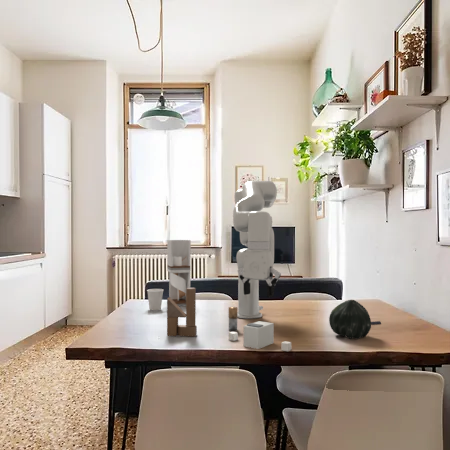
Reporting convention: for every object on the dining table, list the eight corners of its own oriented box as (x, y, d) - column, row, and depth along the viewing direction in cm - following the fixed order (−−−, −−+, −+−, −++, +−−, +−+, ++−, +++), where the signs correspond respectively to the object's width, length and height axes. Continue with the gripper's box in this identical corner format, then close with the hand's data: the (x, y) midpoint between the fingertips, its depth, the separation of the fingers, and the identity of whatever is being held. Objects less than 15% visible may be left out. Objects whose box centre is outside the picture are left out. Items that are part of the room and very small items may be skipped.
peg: (232, 328, 170) (232, 306, 170) (239, 330, 168) (239, 307, 168) (226, 330, 167) (226, 307, 167) (233, 331, 165) (233, 308, 165)
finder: (259, 340, 152) (259, 320, 152) (273, 343, 148) (273, 322, 148) (243, 346, 144) (243, 324, 144) (258, 349, 140) (258, 327, 140)
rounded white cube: (232, 338, 154) (232, 331, 154) (237, 339, 153) (237, 332, 153) (228, 339, 152) (228, 332, 152) (233, 340, 151) (233, 333, 151)
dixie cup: (162, 311, 208) (162, 291, 208) (145, 311, 208) (145, 290, 208) (164, 308, 216) (164, 288, 217) (148, 308, 217) (148, 288, 217)
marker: (285, 348, 141) (285, 341, 141) (291, 349, 139) (291, 342, 139) (281, 350, 139) (281, 342, 139) (287, 351, 137) (287, 343, 137)
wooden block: (169, 334, 161) (169, 287, 161) (196, 334, 160) (196, 287, 160) (166, 336, 157) (167, 288, 158) (194, 337, 156) (195, 288, 156)
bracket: (360, 318, 194) (359, 312, 194) (381, 325, 180) (381, 318, 180) (332, 320, 189) (332, 314, 189) (352, 327, 175) (352, 321, 175)
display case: (167, 303, 232) (167, 240, 233) (185, 302, 236) (186, 239, 236) (170, 306, 222) (171, 240, 222) (190, 305, 225) (190, 240, 225)
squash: (342, 315, 170) (332, 290, 162) (379, 322, 160) (371, 295, 153) (330, 344, 162) (319, 319, 154) (368, 352, 152) (359, 326, 144)
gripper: (232, 246, 149) (232, 294, 149) (274, 247, 138) (274, 299, 138) (244, 245, 155) (244, 291, 155) (285, 247, 144) (285, 296, 144)
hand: (258, 295), depth 146 cm, fingers open, 9 cm apart
